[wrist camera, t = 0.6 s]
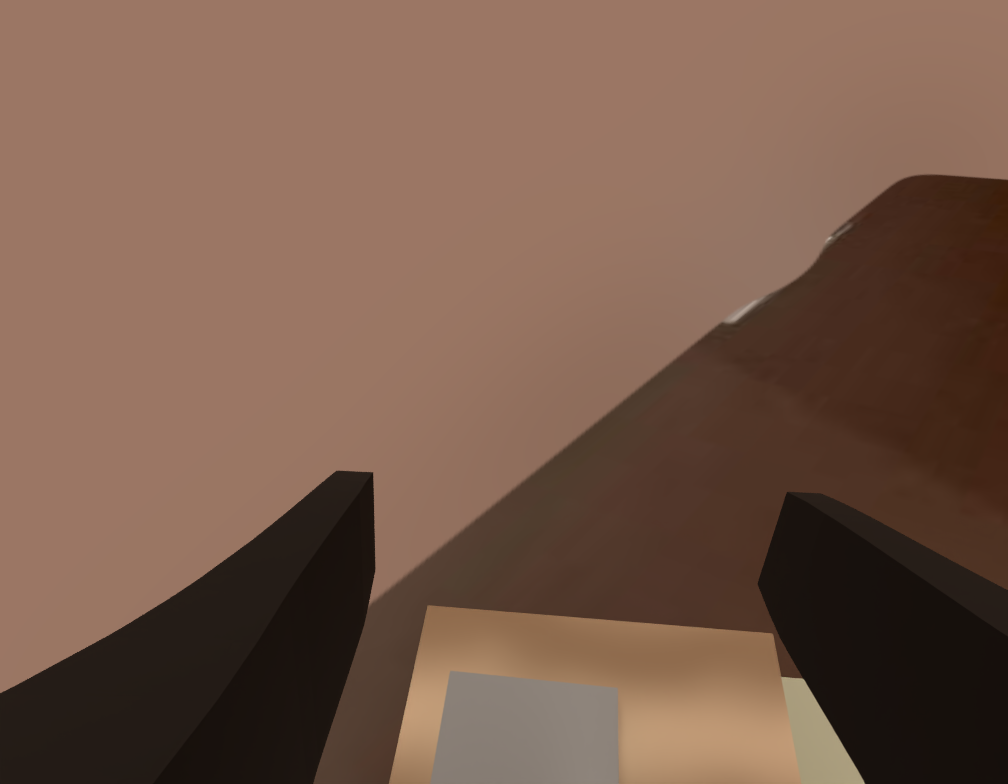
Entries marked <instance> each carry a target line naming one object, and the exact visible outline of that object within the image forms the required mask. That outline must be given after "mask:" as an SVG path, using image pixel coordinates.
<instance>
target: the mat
mask: <svg viewBox="0 0 1008 784" xmlns="http://www.w3.org/2000/svg"><path fill="white" fill-rule="evenodd" d="M781 679H782V685H783V690H784V695H785V700H786V705H787V711H788V716H789V721H790V726H791V732H792V737H793V742H794V747H795V753H796V758H797V763H798V768H799V774H800V779H801V784H865V783H864V781H863V779H862V777H861V775H860V774H859V772H858V770H857V768H856V767H855V765H854V763H853V762H852V760H851V758H850V757H849V755H848V753H847V752H846V750H845V748H844V746H843V745H842V743H841V741H840V740H839V738H838V736H837V735H836V733H835V731H834V730H833V728H832V726H831V724H830V723H829V721H828V719H827V718H826V716H825V714H824V713H823V711H822V709H821V708H820V706H819V704H818V703H817V701H816V699H815V697H814V696H813V694H812V692H811V691H810V689H809V687H808V686H807V684H806V682H805V680H804V679H797V678H787V677H781Z"/></svg>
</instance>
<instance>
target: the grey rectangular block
mask: <svg viewBox="0 0 1008 784" xmlns="http://www.w3.org/2000/svg"><path fill="white" fill-rule="evenodd" d="M430 784H619V759H618V688H614V687H604V686H594V685H585V684H575V683H565V682H555V681H546V680H536V679H526V678H517V677H507V676H497V675H487V674H478V673H468V672H458V671H450V674H449V680H448V686H447V691H446V697H445V703H444V708H443V714H442V720H441V725H440V731H439V737H438V742H437V748H436V754H435V759H434V765H433V771H432V776H431V782H430Z"/></svg>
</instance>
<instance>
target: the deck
mask: <svg viewBox="0 0 1008 784" xmlns="http://www.w3.org/2000/svg"><path fill="white" fill-rule="evenodd" d="M450 671H458V672H468V673H478V674H487V675H497V676H507V677H517V678H526V679H536V680H546V681H555V682H565V683H575V684H585V685H594V686H604V687H614V688H618V759H619V784H801V779H800V774H799V768H798V763H797V758H796V753H795V747H794V742H793V737H792V732H791V726H790V721H789V716H788V711H787V705H786V700H785V695H784V690H783V685H782V679H781V674H780V669H779V664H778V658H777V653H776V648H775V643H774V637H773V634H771V633H759V632H747V631H735V630H722V629H710V628H698V627H686V626H673V625H661V624H649V623H637V622H624V621H612V620H600V619H588V618H575V617H563V616H551V615H539V614H527V613H514V612H502V611H490V610H478V609H465V608H453V607H441V606H429V605H428V607H427V611H426V616H425V621H424V625H423V630H422V634H421V639H420V644H419V648H418V653H417V657H416V662H415V667H414V671H413V676H412V680H411V685H410V690H409V694H408V699H407V703H406V708H405V713H404V717H403V722H402V727H401V731H400V736H399V740H398V745H397V750H396V754H395V759H394V763H393V768H392V773H391V777H390V782H389V784H430V782H431V776H432V771H433V765H434V759H435V754H436V748H437V742H438V737H439V731H440V725H441V720H442V714H443V708H444V703H445V697H446V691H447V686H448V680H449V674H450Z"/></svg>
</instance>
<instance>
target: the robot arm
mask: <svg viewBox="0 0 1008 784" xmlns="http://www.w3.org/2000/svg"><path fill="white" fill-rule="evenodd" d="M373 491H374V488H373V472H352V471H336V472H335V473H333V474H332V475H331V476H330V477H328V478H327V479H326V480H325V481H324V482H322V483H321V484H320V485H319V486H317V487H316V488H315V489H314V490H313V491H312V492H310V493H309V494H308V495H307V496H306V497H304V498H303V499H302V500H301V501H300V502H298V503H297V504H296V505H295V506H294V507H293V508H291V509H290V510H289V511H288V512H287V513H285V514H284V515H283V516H282V517H280V518H279V519H278V520H277V521H275V522H274V523H273V524H272V525H271V526H270V527H268V528H267V529H265V530H264V531H263V532H262V533H261V534H259V535H258V536H257V537H256V538H254V539H253V540H252V541H250V542H249V543H248V544H246V545H245V546H244V547H242V548H241V549H240V550H238V551H237V552H235V553H234V554H233V555H231V556H230V557H228V558H227V559H226V560H224V561H223V562H222V563H220V564H219V565H217V566H216V567H215V568H213V569H212V570H211V571H209V572H208V573H207V574H205V575H204V576H203V577H201V578H200V579H198V580H197V581H195V582H194V583H192V584H191V585H189V586H188V587H186V588H185V589H183V590H182V591H180V592H179V593H177V594H176V595H174V596H172V597H171V598H170V599H168V600H166V601H165V602H163V603H162V604H160V605H158V606H157V607H155V608H154V609H152V610H150V611H149V612H147V613H145V614H144V615H142V616H140V617H139V618H137V619H135V620H134V621H132V622H131V623H129V624H127V625H126V626H124V627H122V628H121V629H119V630H117V631H115V632H114V633H112V634H110V635H109V636H107V637H105V638H103V639H101V640H99V641H98V642H96V643H94V644H92V645H90V646H88V647H86V648H85V649H83V650H81V651H79V652H77V653H75V654H73V655H72V656H70V657H68V658H66V659H64V660H62V661H61V662H59V663H57V664H55V665H53V666H51V667H49V668H48V669H46V670H44V671H42V672H40V673H38V674H36V675H35V676H33V677H31V678H29V679H27V680H25V681H23V682H22V683H20V684H18V685H16V686H14V687H12V688H10V689H8V690H6V691H4V692H2V693H0V784H313V782H314V779H315V775H316V772H317V768H318V765H319V762H320V759H321V756H322V752H323V749H324V746H325V743H326V740H327V737H328V734H329V731H330V728H331V725H332V722H333V719H334V716H335V713H336V710H337V707H338V704H339V701H340V698H341V695H342V692H343V689H344V686H345V683H346V680H347V677H348V674H349V670H350V667H351V664H352V661H353V658H354V655H355V652H356V649H357V646H358V643H359V640H360V636H361V633H362V630H363V627H364V623H365V618H366V614H367V609H368V604H369V599H370V594H371V589H372V584H373V578H374V574H375V539H374V538H375V533H374V492H373ZM758 586H759V589H760V591H761V594H762V596H763V599H764V601H765V604H766V606H767V609H768V611H769V614H770V616H771V618H772V621H773V623H774V625H775V627H776V630H777V632H778V634H779V636H780V638H781V640H782V642H783V644H784V646H785V647H786V649H787V651H788V653H789V655H790V656H791V658H792V660H793V661H794V663H795V665H796V667H797V668H798V670H799V672H800V674H801V675H802V677H803V679H804V680H805V682H806V684H807V686H808V687H809V689H810V691H811V692H812V694H813V696H814V697H815V699H816V701H817V703H818V704H819V706H820V708H821V709H822V711H823V713H824V714H825V716H826V718H827V719H828V721H829V723H830V724H831V726H832V728H833V730H834V731H835V733H836V735H837V736H838V738H839V740H840V741H841V743H842V745H843V746H844V748H845V750H846V752H847V753H848V755H849V757H850V758H851V760H852V762H853V763H854V765H855V767H856V768H857V770H858V772H859V774H860V775H861V777H862V779H863V781H864V783H865V784H1008V590H1006V589H1004V588H1002V587H1000V586H998V585H997V584H995V583H993V582H991V581H989V580H987V579H985V578H983V577H981V576H979V575H977V574H975V573H974V572H972V571H970V570H968V569H966V568H964V567H962V566H960V565H959V564H957V563H955V562H953V561H951V560H949V559H947V558H945V557H944V556H942V555H940V554H938V553H936V552H934V551H933V550H931V549H929V548H927V547H925V546H923V545H921V544H920V543H918V542H916V541H914V540H912V539H910V538H909V537H907V536H905V535H903V534H901V533H899V532H897V531H896V530H894V529H892V528H890V527H888V526H886V525H884V524H883V523H881V522H879V521H877V520H875V519H873V518H871V517H869V516H867V515H865V514H864V513H862V512H860V511H858V510H856V509H854V508H852V507H850V506H848V505H846V504H844V503H841V502H839V501H837V500H835V499H833V498H830V497H828V496H825V495H823V494H819V493H798V492H787V494H786V497H785V500H784V503H783V506H782V509H781V512H780V515H779V519H778V522H777V525H776V528H775V531H774V534H773V537H772V540H771V543H770V547H769V550H768V553H767V556H766V559H765V562H764V565H763V568H762V572H761V575H760V578H759V581H758Z"/></svg>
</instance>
